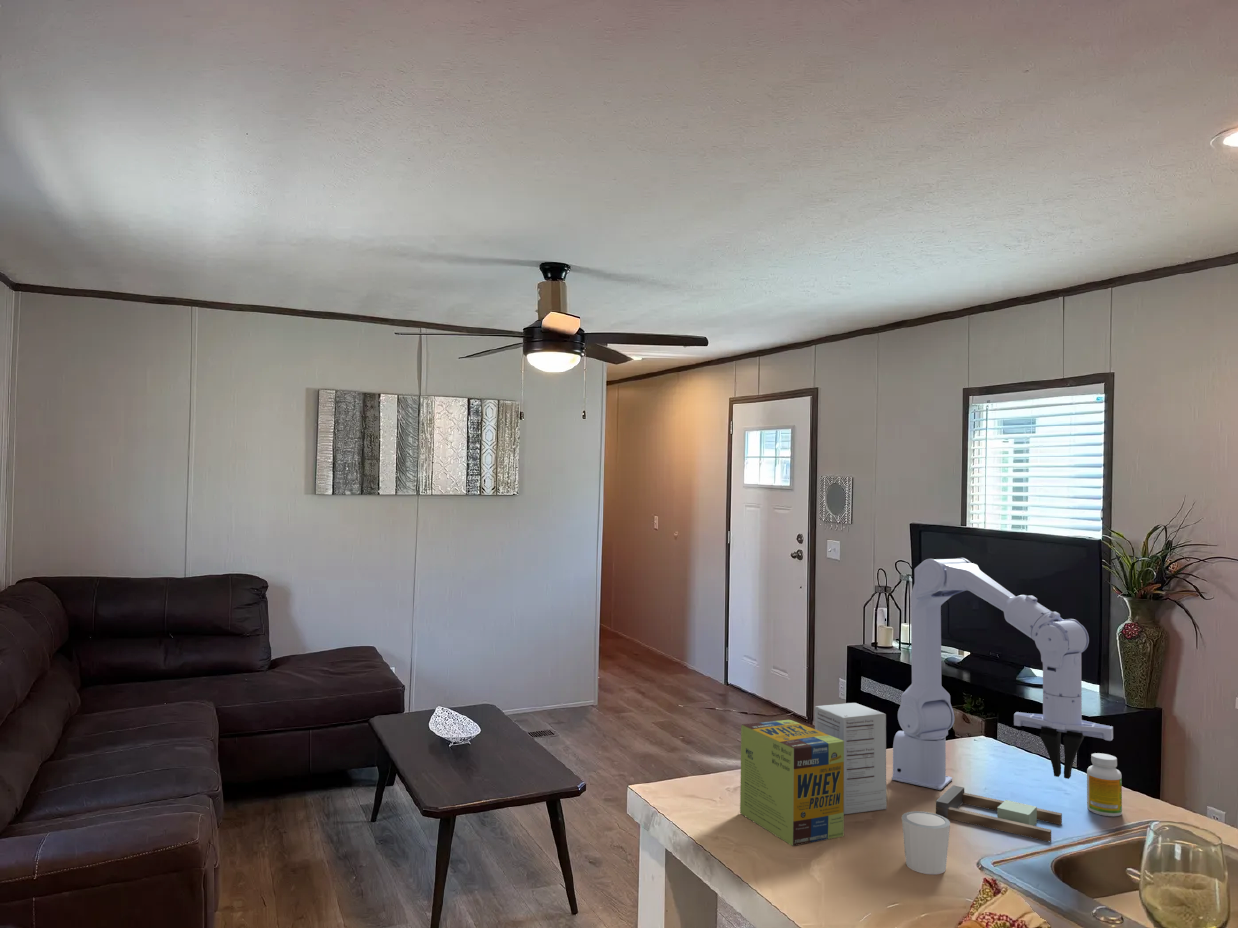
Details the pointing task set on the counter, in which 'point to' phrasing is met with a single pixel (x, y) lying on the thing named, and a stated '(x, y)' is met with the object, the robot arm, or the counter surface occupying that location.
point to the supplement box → (858, 752)
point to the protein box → (792, 781)
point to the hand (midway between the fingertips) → (1062, 775)
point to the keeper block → (1017, 812)
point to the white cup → (925, 841)
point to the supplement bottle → (1104, 786)
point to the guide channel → (956, 797)
